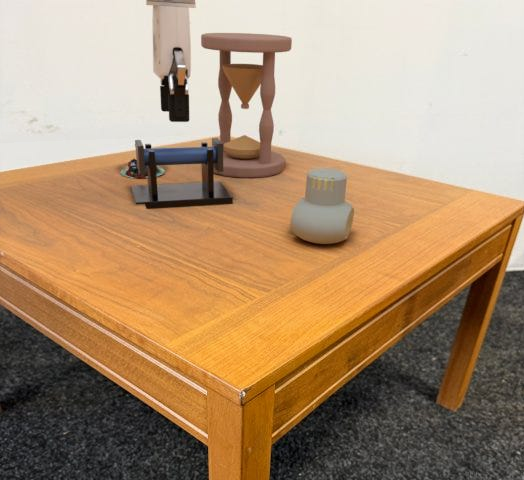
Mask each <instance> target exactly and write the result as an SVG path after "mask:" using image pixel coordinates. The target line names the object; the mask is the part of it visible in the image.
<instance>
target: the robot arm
mask: <svg viewBox="0 0 524 480" xmlns="http://www.w3.org/2000/svg"><path fill="white" fill-rule="evenodd" d="M145 4H146V6H152V19H151V21H152V22H151V23H152V25H151V28H152V32H151V33H152V72H153V73H154V74H155V75H156V76H157V77H158V78H159V80H160V85H159V93H160V96H159V97H160V110H161V111H162V112H163V113H164V112H168V120H169V121H170V122H171V123H188V122H190V94H189V83H188V79H189V78H190V77H191V69H192V66H191V65H192V64H191V63H192V62H191V61H192V56H191V55H192V52H191V50H192V49H191V21H190V8H191V9H196V8H197V0H146V1H145Z"/></svg>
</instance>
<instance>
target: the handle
mask: <svg viewBox="0 0 524 480" xmlns="http://www.w3.org/2000/svg"><path fill="white" fill-rule="evenodd" d="M134 146H135V147H134V148H135V159H136V160H137V168H138V171H139V174H140V175H146V170H145V166H149V155H148V151H149V150H154V151H155V162H156V166H179V165H180V166H181V165H202V164H207V149H210V148H212V149H213V165H214V168H215V169H216V170H217V171H218V172H223V143H222V142H221V141H220V138H218V137H211V146H207V147H201V146H185V147H162V148H161V147H159V148H158V147H157V148H156V147H155V148H153V147H151V149H145V145H143V142H142V140H141V139H135V140H134Z"/></svg>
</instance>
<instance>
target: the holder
mask: <svg viewBox="0 0 524 480" xmlns="http://www.w3.org/2000/svg"><path fill="white" fill-rule="evenodd" d="M200 147H208V142H206V141H202V142H200ZM144 149H152V144H151V143H144ZM148 155H149V166H147V177H148V178H147V184H141V185H140V184H139V185H130V190H131V192H132V193H131V194H132V196H133V199H134V202H135V205H144V206H145V209H146V210H147V209H148V210H150V209H165V208H166V209H167V208H182V207H183V208H184V207H198V206H199V207H200V206H201V207H202V206H215V205H216V206H217V205H233V203H234V197H233V196H232V194H231V193H230V192H229V191H228V189H227V188H226V187H225V186H224V184H223V183H222V182H221V181H215V178H214V177H215V173H214V165H213V149H212V148H210V149H207V164H201V182H184V183H183V182H182V183H181V182H180V183H164V184H162V183H161V184H158V176H156V166H157V165H156V162H155V151H154V150H149V151H148Z"/></svg>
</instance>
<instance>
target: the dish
mask: <svg viewBox="0 0 524 480" xmlns="http://www.w3.org/2000/svg"><path fill="white" fill-rule="evenodd" d="M127 163H128V164H127V168H124V169H121V171H120V175H122V177H127V178H130V179H138V180H139V179H140V180H141V179H148V177H147V166H145V170H146V175H140V174H139V171H138V168H137V159H136V157H134V158H133V159H130V161H128V162H127ZM157 166H158V165H156V177H159V176H162V175H163V174H165V173H166V171H165V169H164V168H162V167H160V168H158V167H157Z"/></svg>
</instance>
